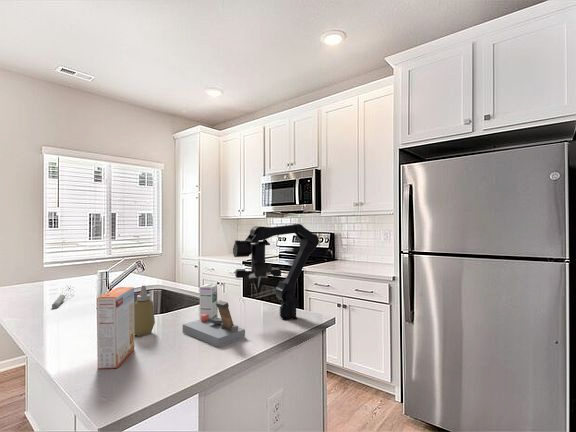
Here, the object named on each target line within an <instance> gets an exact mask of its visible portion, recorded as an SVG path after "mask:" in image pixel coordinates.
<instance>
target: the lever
mask: <svg viewBox="0 0 576 432" xmlns="http://www.w3.org/2000/svg"><path fill="white" fill-rule="evenodd" d="M216 306H217V310H218V312H219V316H220V320H222V322H223V326H224V328H226V329H229V330H231V327H233V326H235V324H234V321H233V319H232V315H231V311H230V308H229V307H230V306H229V302H228V301H223V300H221V299H219V300H217V303H216Z"/></svg>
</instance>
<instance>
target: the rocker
mask: <svg viewBox="0 0 576 432" xmlns="http://www.w3.org/2000/svg"><path fill="white" fill-rule="evenodd" d="M208 322H210V323H213V324H221V323H223V322H222V319H221V318H215V319H208Z"/></svg>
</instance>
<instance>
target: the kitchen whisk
mask: <svg viewBox="0 0 576 432" xmlns="http://www.w3.org/2000/svg"><path fill="white" fill-rule="evenodd" d="M74 289H75V287H74V286H72V287H70V286H67V288H66V289H65V290H64V289H63V287H62V288H60V290H59V291H61V290H62V291H61V293H63V294H59V296H58V297H57V299H56V300H55V301H54V302H53V303H52V304H51V308H52V309H54V310H55V309H58V308H59V306H61V304H62V302H63V301H64V300H65V299H66V298H69V297H70V296H72V295H73V293H71V292H72V291H73V292H75V291H74ZM66 292H69V293H70V294H69V295H67V294H68V293H66Z"/></svg>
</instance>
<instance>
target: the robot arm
mask: <svg viewBox="0 0 576 432" xmlns="http://www.w3.org/2000/svg"><path fill="white" fill-rule="evenodd" d="M291 234H295V235H296V236H297V238H298V239H299V241H300V242H299V250H298V253H297V255H296V257H295V258H294V261H293V263H292V265H291V267H290V269H289V271H288V274H287V275H286V278H285V279H284V280H279V281H278V284H277V286H276V287H275V295H276V298H277V299H278V300H279V302H280V306H279V317H280V318H281V319H282V320H283V321H287V320H298V317H297V306H298V304H299V302H300V300H299V299H298V298H297V297H296V296H295V293H296V283H297V281H298V280H299V277H300V274H301V273H302V270H303V268H304V266H305V264H306V262H307V260H308V258H309V256H310V254H312V253H313V251H315V250H316V248H317V247H318V245H319V244H320V238H319V237H318V235H317V234H315V233H313V232H312V231H310V230H309V229H308V228H306V227H304V226H303V224H301V223H294V224H287V225H278V226H261V225H260V226H259V225H258V226H257V225H255V226H252V228H251V229H250V231H249V234H248V236H247V237H246V238H245V240H238V239H237V240H234V244H233V247H232V254H233V257H234V258H244V257H245V258H247V257H250V255H251V264H250V265H251V269H250V270H246V269H245V268H237V269H236V268H235V269H236V270H234V272H235V273H234V274H235V275H234V276H235V278H236V279H244V278H245V277H246V276H248V279H249V280H252V282H253V285H254V288H255V291H256V294H257V295H259V294H260V292H261V289H262V286H263V283H264V282H265V280H267V279H268V278H269V277H268V276H269V275H270V276H273V277H275V278H276V277H282V270H281V269H280V268H279V267H273V266H272V263H266V246H270V245H271V243H270V242H269V241H268V239H270V238H272V237H275V236H281V235H282V236H283V235H291Z"/></svg>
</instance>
